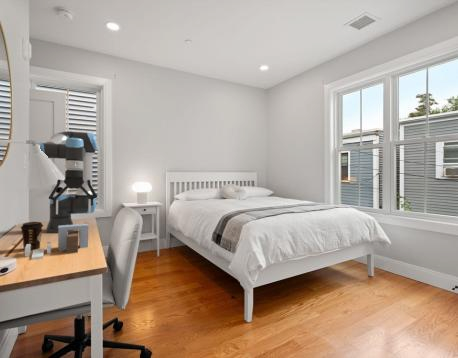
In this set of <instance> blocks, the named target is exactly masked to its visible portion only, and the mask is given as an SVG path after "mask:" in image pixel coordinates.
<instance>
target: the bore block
mask: <svg viewBox="0 0 458 358" xmlns="http://www.w3.org/2000/svg"><path fill="white" fill-rule="evenodd" d="M67 230H72V231H76V230H79V237H78V248H79V249H81V248H82V249H84V248H88V247H89V224H88V223H75V224H73V225H62V226H58V233H57V235H58V237H57V240H58V241H57V243H58V244H57V250H58V251H59V252H60V251H67V234H68V232H67Z"/></svg>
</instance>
